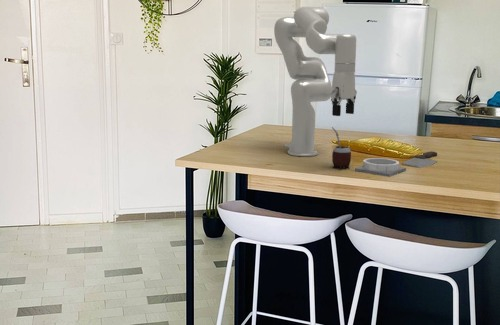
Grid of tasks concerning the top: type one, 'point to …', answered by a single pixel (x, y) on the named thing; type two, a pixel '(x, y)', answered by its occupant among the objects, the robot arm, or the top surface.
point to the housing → (380, 166)
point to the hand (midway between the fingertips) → (343, 114)
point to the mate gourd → (341, 155)
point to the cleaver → (421, 160)
